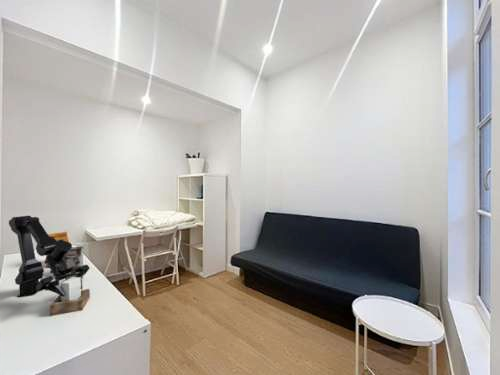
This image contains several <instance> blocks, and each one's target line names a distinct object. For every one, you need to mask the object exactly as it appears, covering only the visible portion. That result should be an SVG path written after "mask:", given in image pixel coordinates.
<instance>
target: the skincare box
mask: <svg viewBox="0 0 500 375" xmlns="http://www.w3.org/2000/svg"><path fill="white" fill-rule="evenodd" d="M60 286H61V288H62V290H63V291H64V293H65V296H64V297H63V296H61V302H64V301H70V300H76V299H79V298H80V297H81V290H82V289H81V278H79V277H72V278H70V279H68V280H66V281H65V280H63V281H61V282H60Z"/></svg>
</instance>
